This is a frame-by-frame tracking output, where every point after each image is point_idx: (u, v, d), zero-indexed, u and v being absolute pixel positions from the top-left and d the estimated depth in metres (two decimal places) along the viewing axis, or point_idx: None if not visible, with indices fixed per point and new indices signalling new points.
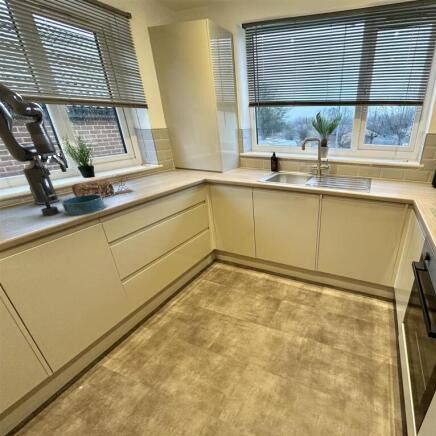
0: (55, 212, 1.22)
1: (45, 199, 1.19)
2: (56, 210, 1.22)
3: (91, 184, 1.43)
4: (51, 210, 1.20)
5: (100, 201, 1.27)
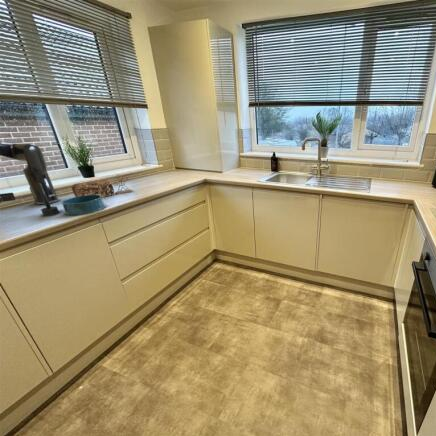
0: (55, 212, 1.22)
1: (45, 199, 1.19)
2: (56, 210, 1.22)
3: (91, 184, 1.43)
4: (51, 210, 1.20)
5: (100, 201, 1.27)
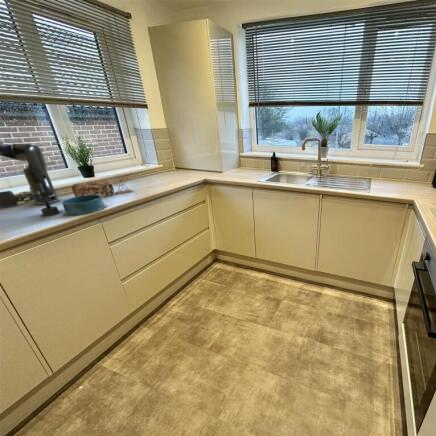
0: (55, 212, 1.22)
1: (45, 199, 1.19)
2: (56, 210, 1.22)
3: (91, 184, 1.43)
4: (51, 210, 1.20)
5: (100, 201, 1.27)
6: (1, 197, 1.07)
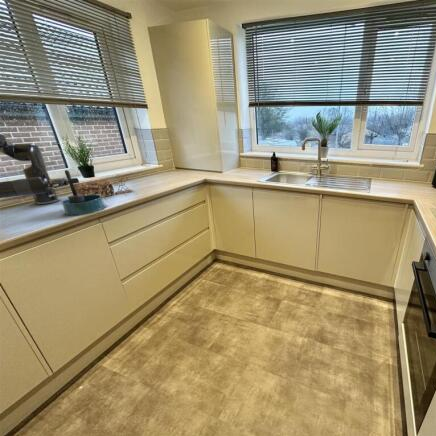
0: (81, 200, 1.22)
1: (72, 186, 1.19)
2: (82, 198, 1.22)
3: (91, 184, 1.43)
4: (78, 197, 1.20)
5: (100, 201, 1.27)
6: (31, 183, 1.07)
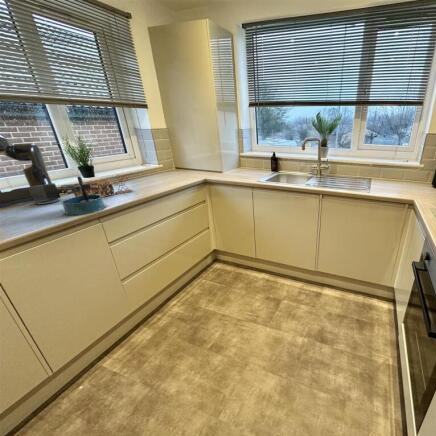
0: None
1: (84, 192, 1.25)
2: None
3: (91, 184, 1.43)
4: None
5: (100, 201, 1.27)
6: (47, 189, 1.13)
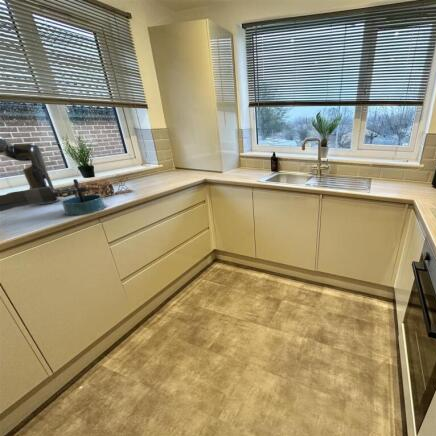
0: None
1: (80, 195, 1.23)
2: None
3: (91, 184, 1.43)
4: None
5: (100, 201, 1.27)
6: (42, 192, 1.12)
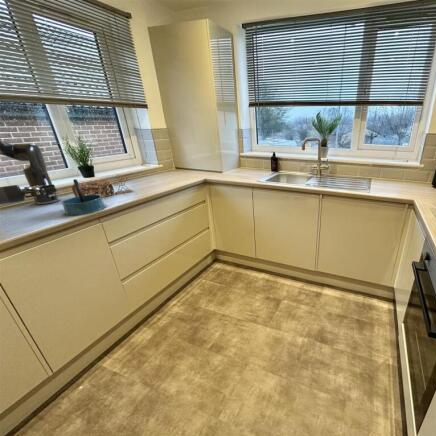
0: None
1: (80, 195, 1.23)
2: None
3: (91, 184, 1.43)
4: None
5: (100, 201, 1.27)
6: (8, 191, 1.04)
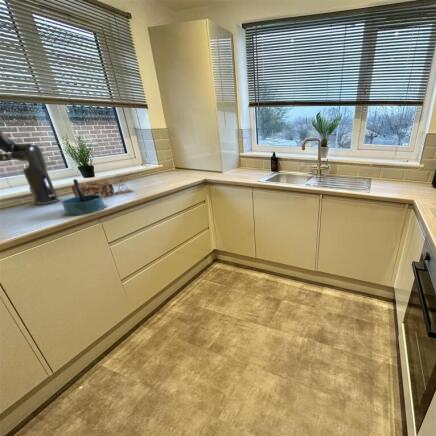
0: None
1: (80, 195, 1.23)
2: None
3: (91, 184, 1.43)
4: None
5: (100, 201, 1.27)
6: None
